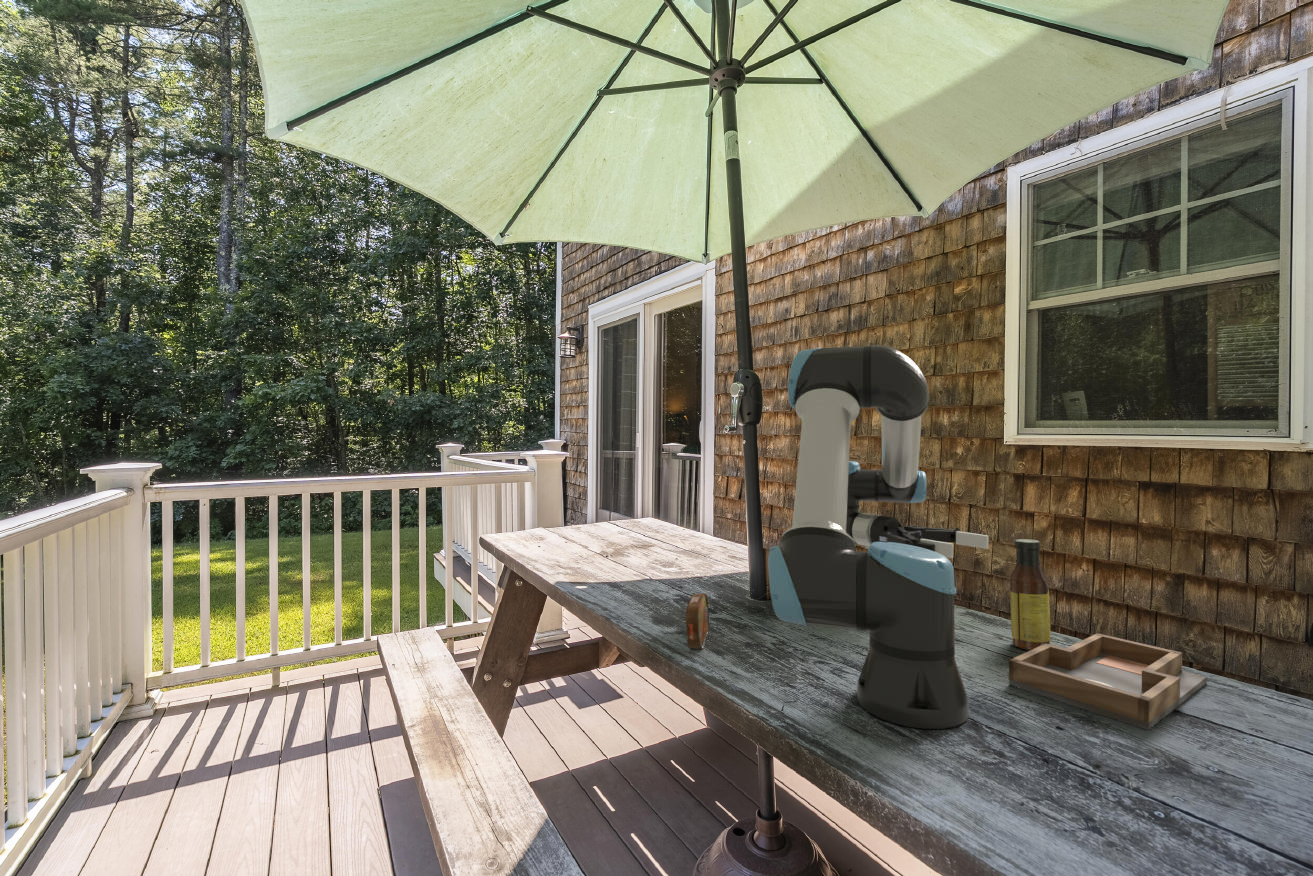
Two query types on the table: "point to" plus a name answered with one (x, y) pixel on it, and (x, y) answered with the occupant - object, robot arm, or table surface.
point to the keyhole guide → (1108, 678)
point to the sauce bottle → (1029, 598)
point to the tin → (697, 620)
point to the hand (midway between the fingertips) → (970, 546)
